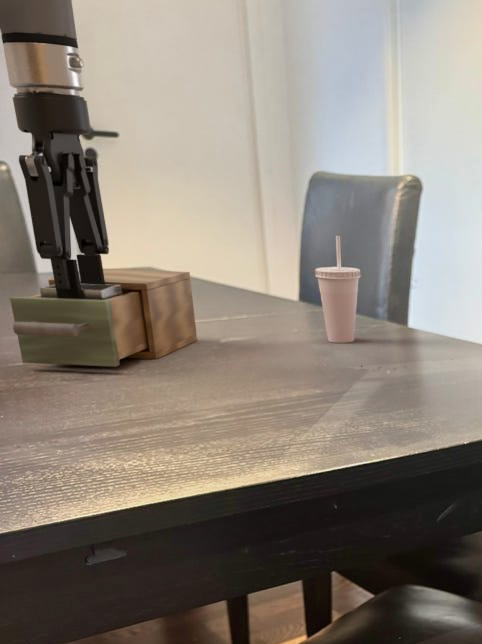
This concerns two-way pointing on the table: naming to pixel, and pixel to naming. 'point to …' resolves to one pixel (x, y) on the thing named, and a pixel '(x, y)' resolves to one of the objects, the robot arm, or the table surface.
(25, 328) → the drawer
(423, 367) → the table surface
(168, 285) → the cabinet
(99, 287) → the grey rectangular box
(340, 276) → the smoothie
